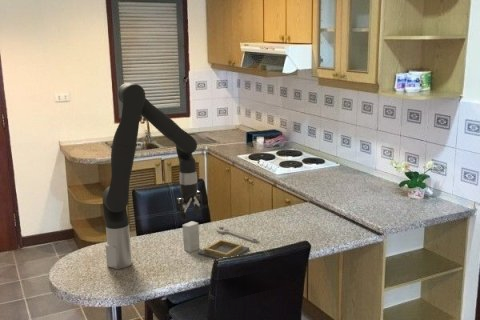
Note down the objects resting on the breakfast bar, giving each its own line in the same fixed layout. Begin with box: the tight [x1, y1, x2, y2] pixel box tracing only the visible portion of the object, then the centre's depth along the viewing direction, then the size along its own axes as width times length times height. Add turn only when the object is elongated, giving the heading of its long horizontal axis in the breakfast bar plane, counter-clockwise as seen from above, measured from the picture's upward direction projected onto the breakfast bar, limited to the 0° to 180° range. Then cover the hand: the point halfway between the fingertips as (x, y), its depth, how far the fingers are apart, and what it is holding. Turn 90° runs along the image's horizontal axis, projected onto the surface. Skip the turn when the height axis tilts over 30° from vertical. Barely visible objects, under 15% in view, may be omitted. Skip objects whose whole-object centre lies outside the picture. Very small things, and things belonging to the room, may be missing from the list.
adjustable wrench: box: [216, 225, 259, 244], centre depth 244 cm, size 25×6×2 cm, turn 42°
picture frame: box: [197, 239, 250, 260], centre depth 226 cm, size 16×16×2 cm
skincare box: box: [182, 220, 200, 253], centre depth 228 cm, size 6×4×12 cm
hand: (190, 217), depth 226 cm, fingers open, 8 cm apart
